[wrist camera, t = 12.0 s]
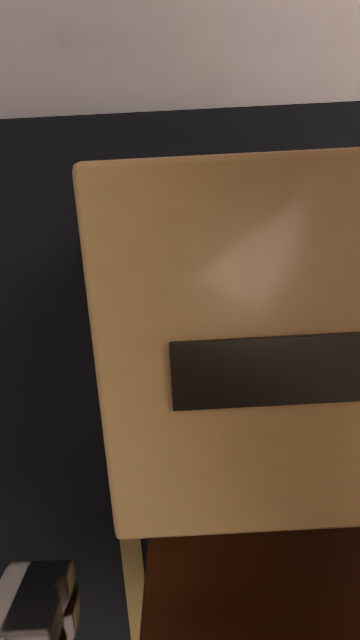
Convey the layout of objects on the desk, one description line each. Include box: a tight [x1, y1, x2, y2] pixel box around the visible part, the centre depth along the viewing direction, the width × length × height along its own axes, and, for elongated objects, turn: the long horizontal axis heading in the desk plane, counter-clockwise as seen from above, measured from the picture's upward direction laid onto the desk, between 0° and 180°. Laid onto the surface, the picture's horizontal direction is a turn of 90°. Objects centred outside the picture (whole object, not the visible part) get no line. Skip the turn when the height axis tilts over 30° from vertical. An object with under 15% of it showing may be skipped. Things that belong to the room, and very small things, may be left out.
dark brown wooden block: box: [139, 527, 360, 640], centre depth 8 cm, size 4×4×5 cm
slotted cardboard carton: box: [72, 147, 360, 540], centre depth 6 cm, size 4×4×5 cm
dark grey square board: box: [0, 101, 360, 640], centre depth 10 cm, size 20×20×1 cm
